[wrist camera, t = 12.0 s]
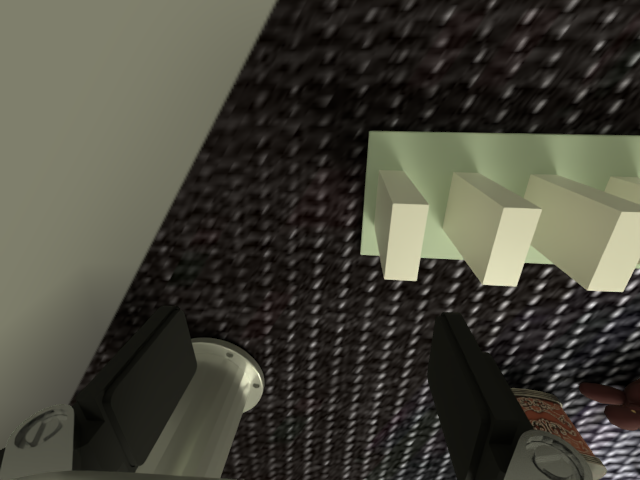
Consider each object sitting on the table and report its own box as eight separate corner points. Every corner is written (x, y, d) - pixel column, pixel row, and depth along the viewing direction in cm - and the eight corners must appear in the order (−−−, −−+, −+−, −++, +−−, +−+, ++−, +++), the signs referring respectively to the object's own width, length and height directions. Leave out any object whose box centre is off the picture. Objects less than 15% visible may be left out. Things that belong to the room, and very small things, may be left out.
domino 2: (442, 228, 27) (482, 284, 19) (453, 172, 25) (503, 207, 17) (465, 229, 27) (516, 286, 19) (478, 172, 25) (542, 208, 16)
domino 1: (373, 225, 27) (384, 279, 19) (378, 170, 25) (392, 203, 17) (396, 226, 27) (416, 280, 19) (403, 170, 25) (429, 204, 17)
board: (360, 250, 29) (360, 254, 29) (369, 130, 25) (369, 131, 24) (673, 265, 27) (682, 270, 26) (747, 137, 23) (761, 138, 22)
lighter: (481, 404, 37) (525, 504, 28) (490, 384, 35) (538, 483, 26) (550, 412, 36) (618, 517, 27) (562, 393, 35) (637, 496, 26)
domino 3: (513, 231, 26) (587, 290, 18) (530, 174, 24) (621, 211, 16) (538, 232, 26) (623, 292, 18) (556, 174, 24) (662, 212, 16)
